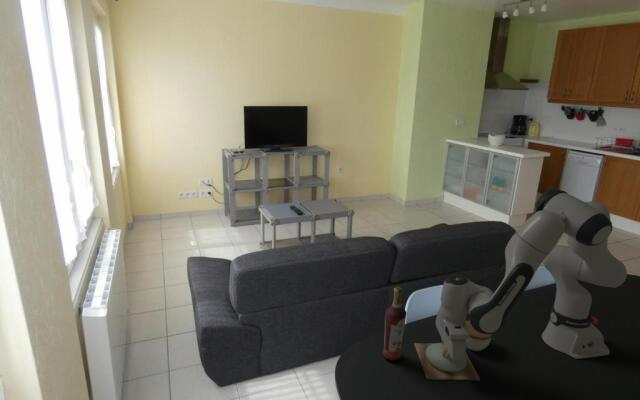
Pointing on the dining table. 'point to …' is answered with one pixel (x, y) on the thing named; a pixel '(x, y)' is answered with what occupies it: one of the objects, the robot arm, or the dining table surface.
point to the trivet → (439, 374)
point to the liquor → (394, 327)
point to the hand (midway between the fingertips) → (446, 353)
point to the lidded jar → (477, 339)
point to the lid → (443, 358)
